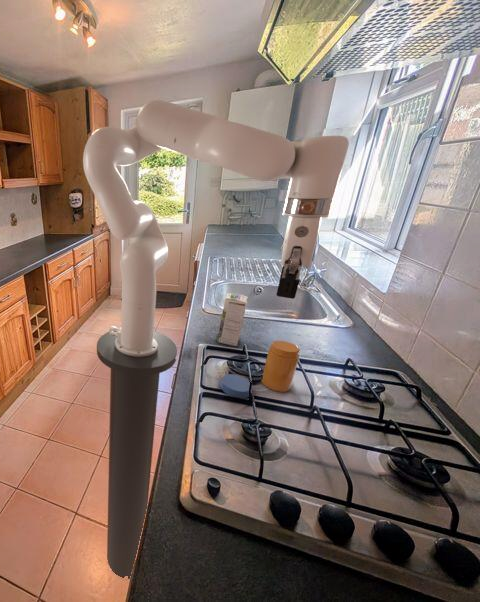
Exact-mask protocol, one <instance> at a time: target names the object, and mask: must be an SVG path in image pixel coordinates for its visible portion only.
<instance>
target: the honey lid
mask: <svg viewBox="0 0 480 602" xmlns="http://www.w3.org/2000/svg"><path fill="white" fill-rule="evenodd" d="M249 381H250V380H249V379H248V378H246V377H244V376H242V375H238V374H235V373H234V374H233V373H228V374H224V375H223V376H222V377H221V379H220V385H219V386H220V389H221V390H222V392H224V394H226V395H228V396H229V397H233V398H237V399H247V398H249V397H250V396H249V385H250V382H251V381H250V382H249ZM252 391H253V384H252Z"/></svg>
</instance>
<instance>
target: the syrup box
mask: <svg viewBox="0 0 480 602" xmlns="http://www.w3.org/2000/svg"><path fill="white" fill-rule="evenodd" d="M248 299H249V296H247V295H243V294H238V293H237V294H236V293H227V295H226V297H225V299H224V303H223V310H222V313H221V318H220V324H219V330H218V333H217V334H218V335H217V340H216V342H217V343H219V344H224V345H228V346H233V347H238V345H239V341H240V336H241V331H242V328H243V327H242V326H243V323H244V320H245V319H244V318H245V315H246V314H245V313H246V310H247V304H248Z"/></svg>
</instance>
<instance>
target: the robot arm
mask: <svg viewBox="0 0 480 602" xmlns="http://www.w3.org/2000/svg"><path fill="white" fill-rule="evenodd" d="M349 146H350V141H349V139H348V137H347V136H343V135H322V136H314V137H308V138H306V139H303V140H301V141H291V140H290V139H288V138H287V137H284V136H282V135H279V134H277V133H273V132H270V131H266V130H263V129H260V128H256V127H253V126H249V125H247V124H243V123H239V122H236V121H231V120H228V119H225V118H223V117H221V116H217V115H215V114H214V115H213V114H211V113H206V112H203V111H199V110H196V109H193V108H190V107H187V106H183V105H180V104H176V103H173V102H170V101H166V100H162V99H153V100H149V101H147V102H146V103H145V104H144V105H143V106H141V108H140V109H139V111H138V113H137V116H136V120H135V125H134V126H132V127H131V128H129V129H128V130H126V129H122V128H120V127H117V126H103V127H100V128H97V129H96V130H94V131H93V132H92V133H91V135H90V136H89V138H88V139H87V141H86V144H85V146H84V149H83V154H82V167H83V172H84V175H85V178H86V180H87V183H88V185H89V187H90V189H91V191H92V193H93V195H94V196H95V199H96V201H97V205H98V206H99V209H100V211H101V213H102V215H103V217H104V220H105V222H106V224H107V227H108V229H109V231H110V233H111V235H112V236H113V237H114V238H115V239H117V240H120V241H125V240H129V239H130V242H131V243H130V244H128V246H126V247H125V248H124V250H123V252H122V253H121V255H120V260H119V270H120V276H121V308H120V309H121V310H120V315H121V316H120V327H117V326H114V325H110V327H109V332H110V335H111V336H116V337H117V339H116V341H115V346H116V348H117V349H118V350H119V351H120V352H121V353H123V354H126V355H129V356H135V357H143V356H149V355H151V354H153V353H155V352H156V351H157V348H158V343H157V341H156V340H155V339H154V338H153V331H155V330H154V327H155V315H156V304H157V277H156V274H157V270H159V268H161V267H162V266H163V265H164V264H165V263H166V262H167V260H168V257H169V247H168V243H167V241H166V238H165V235H164V233H163V231H162V229H161V227H160V224H159V222H158V220H157V218H156V215H155V213H154V211H153V210H152V208H151V207H150V205H148V204H147V203H145V202H143V201H140V200H134V198H133V197H132V195H131V192H130V190H129V187H128V185H127V183H126V181H125V179H124V178H123V177H122V175H121V174H120V172H119V171H118V168H117V167H128V166H131V165H134V164H136V163H138V162H140V161H142V160H145V159H147V158H148V157H150V156H152V155H154V154H156V153H158V152H159V151H162V150H163V149H165V150H168V151H172V152H174V153H176V154H180V155H182V156H185V157H188V158H190V159H193V160H196V161H199V162H203V163H207V164H208V163H209V164H211V165H214V166H217V167H220V168H223V169H225V170H229V171H232V172H233V173H234V172H235V173H237V174H239V175H242V176H245V177H248V178H250V179H253V180H255V181H259V182H272V181H277V180H285V179H290V181H289V184H288V189H287V193H286V197H285V202H284V206H283V210H282V216H286V217H288V220H287V225H286V228H285V232H284V239H283V245H282V251H281V262H280V265H281V266H282V268H281V272H280V277H279V279H278V286H277V290H276V296H277V297H280V298H287V299H291V300H293V299H295V298H296V295H297V291H298V289H299V285H300V280H301V279H300V275H301V270H302V268H305V270H309V269H310V268H311V265H312V261H313V256H314V252H315V249H316V246H317V241H318V237H319V234H320V229H321V225H322V218H329V217H330V214H331V210H332V207H333V203H334V199H335V197H336V191H337V189H338V184H339V182H340V178H341V174H342V171H343V168H344V164H345V160H346V156H347V153H348V149H349Z"/></svg>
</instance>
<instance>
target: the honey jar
mask: <svg viewBox="0 0 480 602" xmlns="http://www.w3.org/2000/svg"><path fill="white" fill-rule="evenodd" d="M300 350H301V349H300V348H299V346H297V345H296V344H294V343H293V342H290V341H284V340H274V341H273V342H272V343H271V345H270V346H269V348H268V350H267V351H268V352H267V355H266V358H265V363H264V368H263V371H262V375H263V379H262V378H261V379H260V380H261V383H262V385H264V386H265V388H268V389H270V390H271V391H274V392H280V393H281V392H283V393H284V392H289V390H291V386H292V383H293V380H294V376H295V373H296V370H297V367H298V363H299V360H300V354H299V352H300Z"/></svg>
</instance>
